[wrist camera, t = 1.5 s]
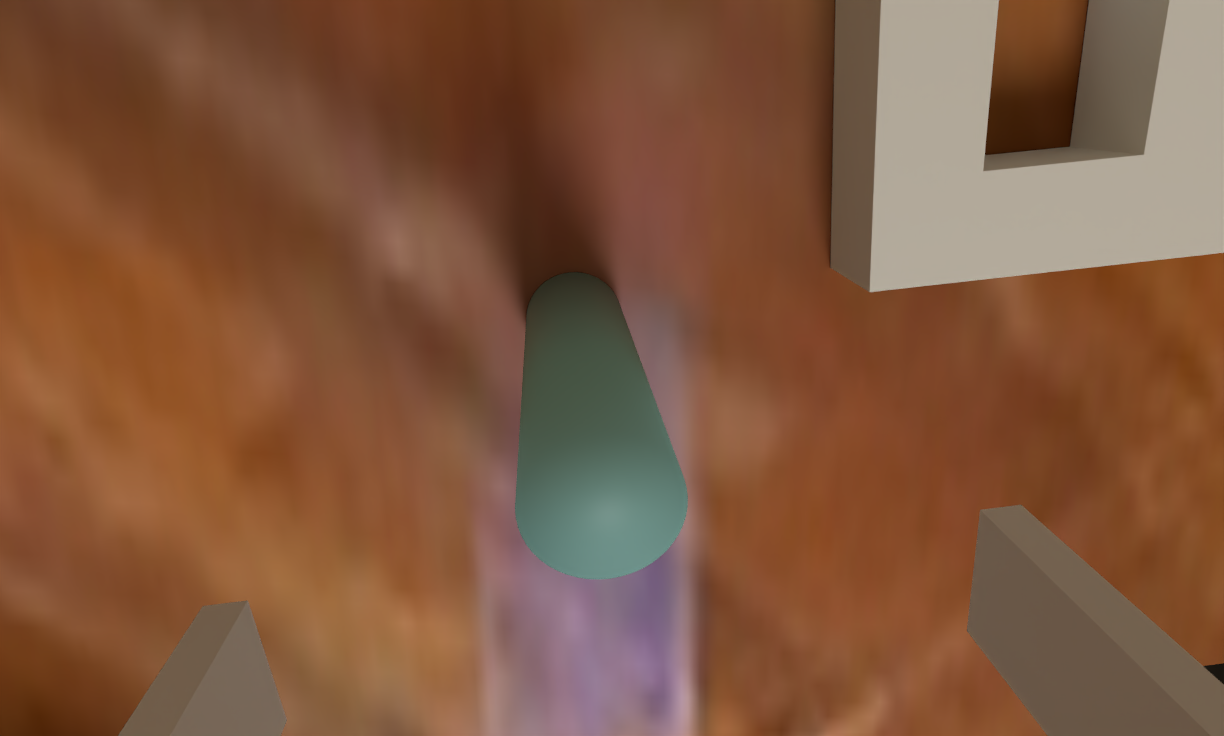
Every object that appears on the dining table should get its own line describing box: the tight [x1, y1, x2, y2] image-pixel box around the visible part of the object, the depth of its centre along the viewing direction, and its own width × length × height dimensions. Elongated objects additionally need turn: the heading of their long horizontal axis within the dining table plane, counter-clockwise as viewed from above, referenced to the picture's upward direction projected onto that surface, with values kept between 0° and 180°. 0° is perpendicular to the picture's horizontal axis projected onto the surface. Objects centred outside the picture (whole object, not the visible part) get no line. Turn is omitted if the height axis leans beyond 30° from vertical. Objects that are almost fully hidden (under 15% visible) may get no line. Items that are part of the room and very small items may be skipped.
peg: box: [515, 272, 688, 579], centre depth 24 cm, size 4×4×15 cm
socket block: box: [830, 0, 1224, 292], centre depth 27 cm, size 14×14×4 cm
